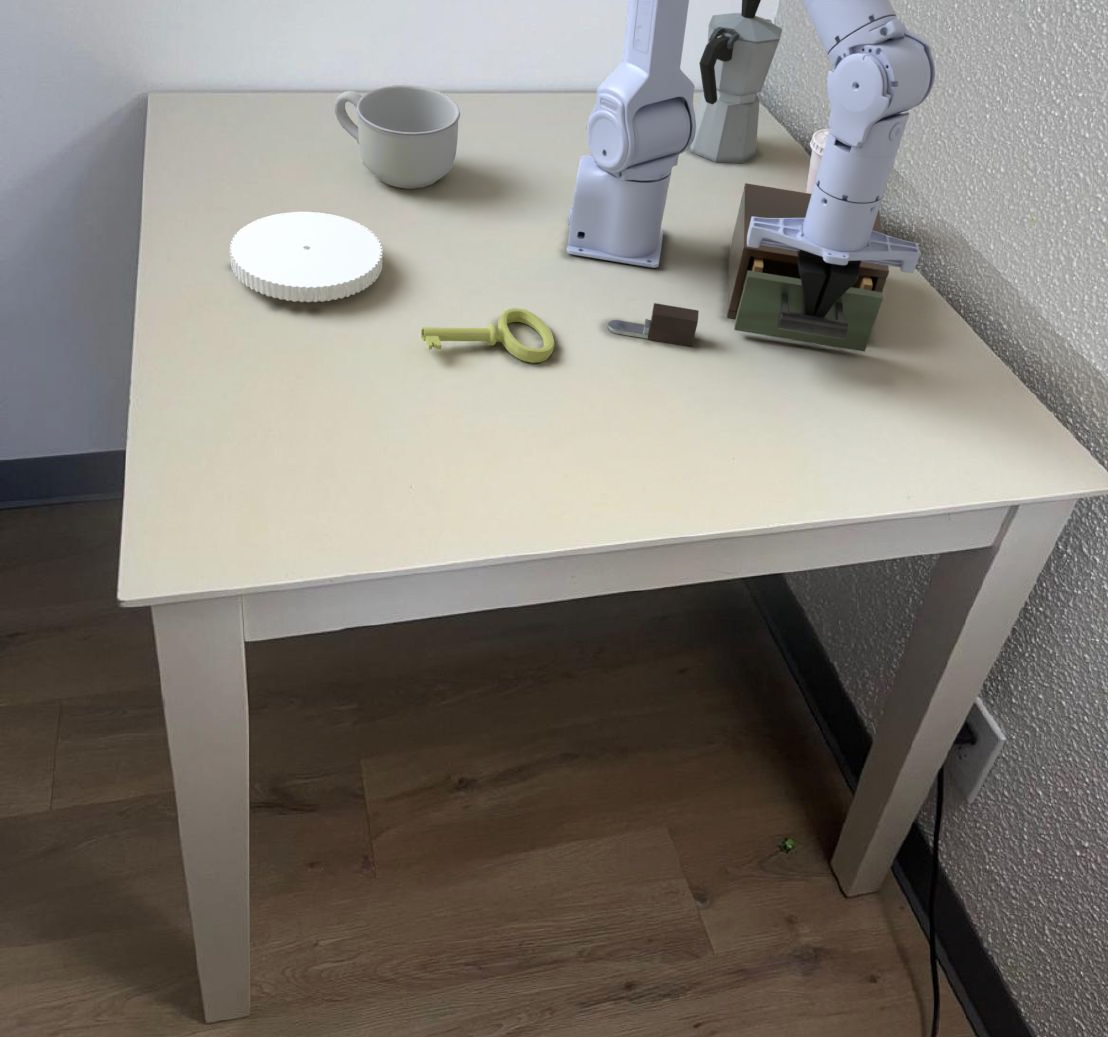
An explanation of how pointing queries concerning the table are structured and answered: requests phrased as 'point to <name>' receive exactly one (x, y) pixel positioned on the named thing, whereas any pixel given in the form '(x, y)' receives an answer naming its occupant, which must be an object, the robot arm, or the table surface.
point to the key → (497, 335)
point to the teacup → (403, 133)
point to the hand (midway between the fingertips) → (808, 325)
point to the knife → (662, 325)
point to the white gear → (306, 256)
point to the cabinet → (775, 206)
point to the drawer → (778, 308)
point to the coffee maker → (733, 84)
